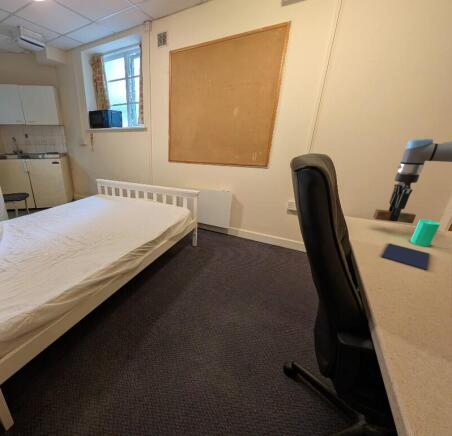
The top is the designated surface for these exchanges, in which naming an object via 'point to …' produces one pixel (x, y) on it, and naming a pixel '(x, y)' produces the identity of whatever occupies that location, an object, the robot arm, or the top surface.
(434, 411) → the top surface
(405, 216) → the brown rectangular bar
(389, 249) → the placemat
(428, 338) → the top surface
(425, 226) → the candle
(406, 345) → the top surface
